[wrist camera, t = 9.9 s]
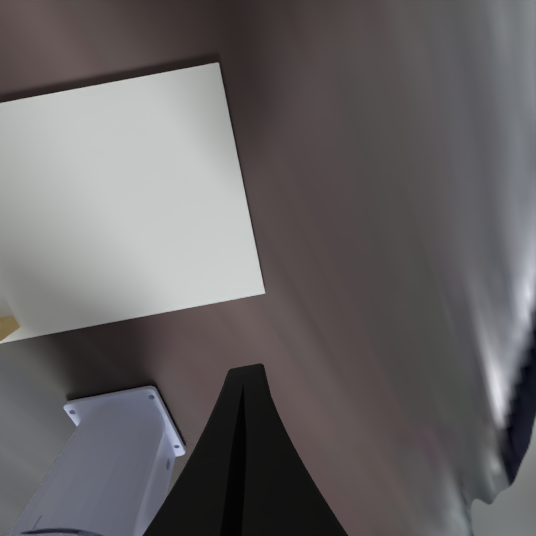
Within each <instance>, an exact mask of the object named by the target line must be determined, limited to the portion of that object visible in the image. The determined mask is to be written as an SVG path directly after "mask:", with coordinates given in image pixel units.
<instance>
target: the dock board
mask: <svg viewBox="0 0 536 536" xmlns="http://www.w3.org/2000/svg"><path fill="white" fill-rule="evenodd" d="M259 294H265V289H264V284H263V279H262V275H261V270H260V265H259V260H258V255H257V250H256V245H255V240H254V235H253V230H252V225H251V220H250V215H249V210H248V205H247V200H246V195H245V190H244V185H243V180H242V175H241V170H240V165H239V160H238V155H237V150H236V145H235V140H234V135H233V130H232V125H231V121H230V116H229V111H228V106H227V101H226V96H225V91H224V86H223V81H222V76H221V71H220V66H219V62H218V63H212V64H207V65H201V66H196V67H191V68H185V69H180V70H175V71H169V72H164V73H159V74H153V75H148V76H143V77H137V78H132V79H126V80H121V81H116V82H110V83H105V84H100V85H94V86H89V87H84V88H78V89H73V90H68V91H62V92H57V93H51V94H46V95H41V96H35V97H30V98H25V99H19V100H14V101H9V102H3V103H0V343H4V342H9V341H15V340H20V339H25V338H31V337H36V336H41V335H47V334H52V333H57V332H63V331H68V330H73V329H79V328H84V327H89V326H94V325H100V324H105V323H110V322H116V321H121V320H126V319H132V318H137V317H142V316H148V315H153V314H158V313H164V312H169V311H174V310H180V309H185V308H190V307H195V306H201V305H206V304H211V303H217V302H222V301H227V300H233V299H238V298H243V297H249V296H254V295H259Z"/></svg>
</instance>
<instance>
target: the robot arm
mask: <svg viewBox="0 0 536 536" xmlns="http://www.w3.org/2000/svg"><path fill="white" fill-rule="evenodd" d="M152 395H153V396H152ZM64 409H65V411H66V412H67V413H68V415H69V416H70V418H71V419H72V420H73V422H74V423H75V424H76V426H77V428H76V429H75V431H74V432H73V434H72V435H71V437H70V439H69V440H68V442H67V443H66V445H65V446H64V448H63V449H62V451H61V453H60V454H59V456H58V457H57V459H56V460H55V462H54V463H53V465H52V466H51V468H50V470H49V471H48V473H47V474H46V476H45V477H44V479H43V480H42V482H41V484H40V485H39V487H38V488H37V490H36V491H35V493H34V494H33V496H32V497H31V499H30V501H29V502H28V504H27V505H26V507H25V508H24V510H23V511H22V513H21V515H20V516H19V518H18V519H17V521H16V522H15V524H14V525H13V527H12V528H11V530H10V532H9V533H8V535H7V536H348V535H347V533H346V532H345V530H344V529H343V527H342V526H341V524H340V523H339V521H338V520H337V518H336V517H335V515H334V513H333V512H332V510H331V509H330V507H329V505H328V504H327V502H326V501H325V499H324V498H323V496H322V494H321V493H320V491H319V490H318V488H317V486H316V485H315V483H314V481H313V480H312V478H311V476H310V474H309V473H308V471H307V469H306V468H305V466H304V464H303V462H302V460H301V459H300V457H299V455H298V453H297V451H296V449H295V448H294V446H293V444H292V442H291V440H290V438H289V436H288V434H287V432H286V430H285V428H284V425H283V423H282V421H281V419H280V417H279V414H278V412H277V410H276V407H275V405H274V402H273V400H272V397H271V394H270V390H269V385H268V381H267V377H266V373H265V368H264V365H263V364H261V363H260V364H254V365H249V366H244V367H238V368H233V369H230V370H229V371H228V373H227V376H226V379H225V382H224V385H223V387H222V390H221V392H220V395H219V397H218V400H217V402H216V405H215V407H214V409H213V411H212V413H211V416H210V418H209V420H208V422H207V425H206V427H205V429H204V431H203V433H202V435H201V437H200V439H199V441H198V443H197V445H196V447H195V449H194V451H193V453H192V454H191V456H190V458H189V460H188V462H187V464H186V466H185V467H184V469H183V471H182V473H181V474H180V476H179V478H178V480H177V481H176V483H175V485H174V486H173V488H172V490H171V491H170V493H169V495H168V496H167V498H166V494H167V490H168V486H169V482H170V478H171V473H172V469H173V465H174V461H175V457H176V456H181V455H184V454H185V451H186V448H185V446H184V444H183V442H182V440H181V438H180V436H179V434H178V432H177V430H176V428H175V426H174V423H173V421H172V419H171V417H170V415H169V413H168V411H167V409H166V407H165V405H164V403H163V401H162V399H161V397H160V395H159V393H158V391H157V389H156V388H155V387H154V386H145V387H140V388H135V389H129V390H124V391H119V392H113V393H108V394H103V395H98V396H92V397H87V398H82V399H76V400H71V401H68V402H66V404H65V405H64ZM165 498H166V499H165Z"/></svg>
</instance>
